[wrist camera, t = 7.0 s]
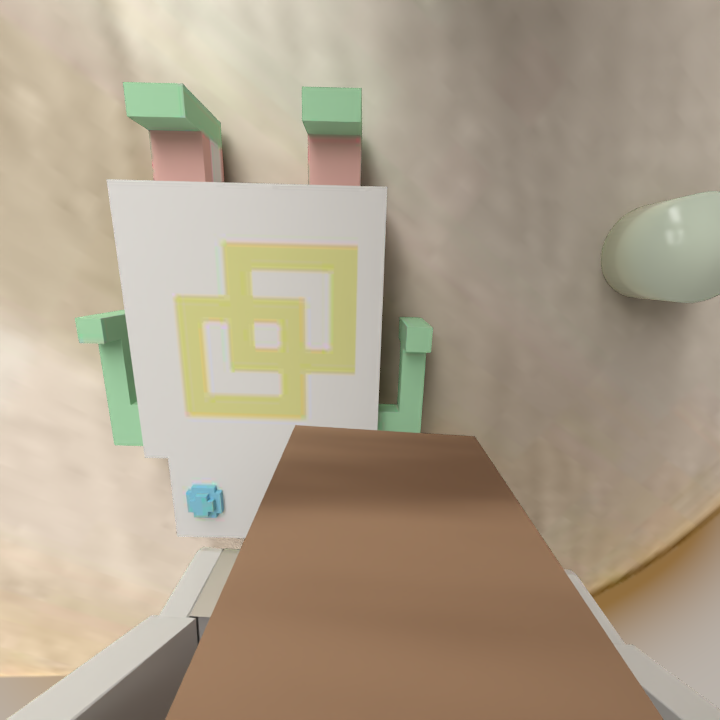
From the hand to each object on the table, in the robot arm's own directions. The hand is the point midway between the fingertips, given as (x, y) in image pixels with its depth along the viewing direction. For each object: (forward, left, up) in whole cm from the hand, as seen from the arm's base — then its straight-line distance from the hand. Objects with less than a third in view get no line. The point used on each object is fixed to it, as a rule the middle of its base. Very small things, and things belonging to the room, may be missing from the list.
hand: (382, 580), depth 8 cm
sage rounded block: (-9, +18, -19) cm, 27 cm away
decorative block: (-2, -7, -19) cm, 20 cm away
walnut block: (0, 0, -3) cm, 3 cm away
